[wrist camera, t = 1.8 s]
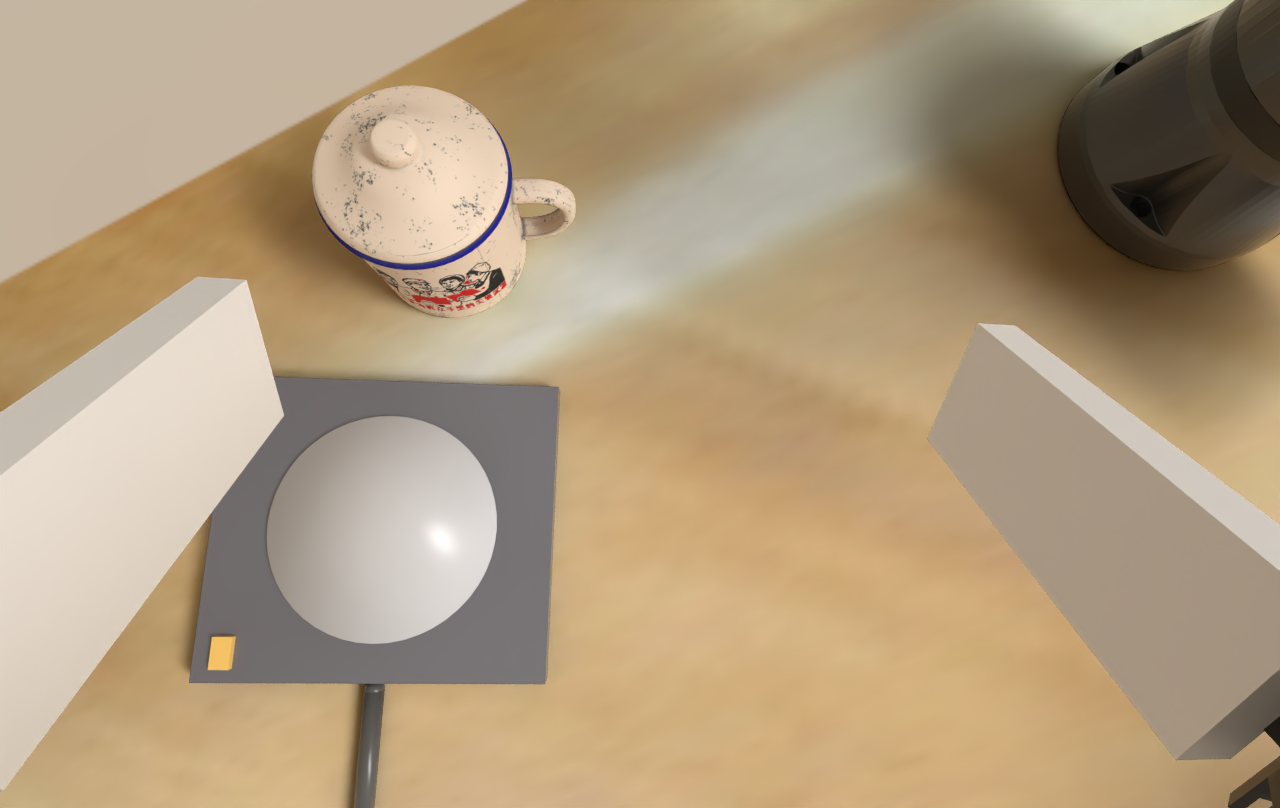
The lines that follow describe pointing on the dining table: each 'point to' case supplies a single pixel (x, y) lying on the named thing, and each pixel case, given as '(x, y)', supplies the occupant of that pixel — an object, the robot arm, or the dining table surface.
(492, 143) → the teacup with lid
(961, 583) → the dining table surface
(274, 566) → the warming pad
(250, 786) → the dining table surface
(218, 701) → the dining table surface
